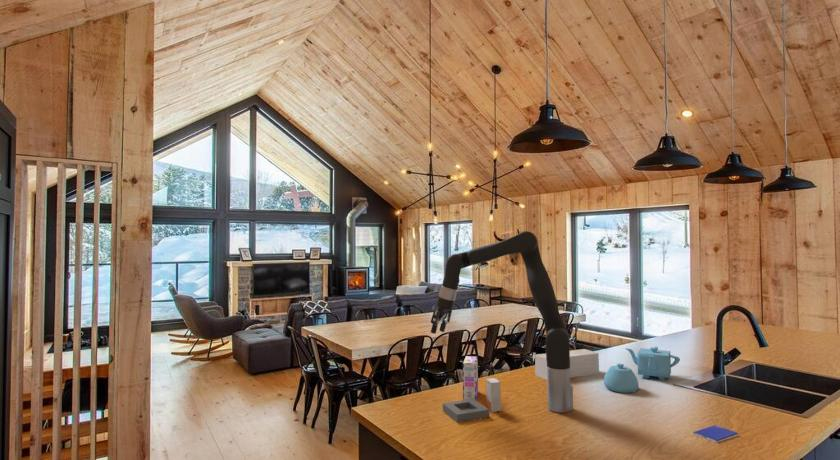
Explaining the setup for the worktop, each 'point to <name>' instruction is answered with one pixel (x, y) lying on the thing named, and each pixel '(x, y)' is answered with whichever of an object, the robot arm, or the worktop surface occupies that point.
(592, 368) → the white rectangular block
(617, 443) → the worktop surface
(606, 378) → the sugar bowl
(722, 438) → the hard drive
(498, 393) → the skincare box
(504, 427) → the worktop surface
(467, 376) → the candy box
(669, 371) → the teakettle
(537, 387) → the worktop surface
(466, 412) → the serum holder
